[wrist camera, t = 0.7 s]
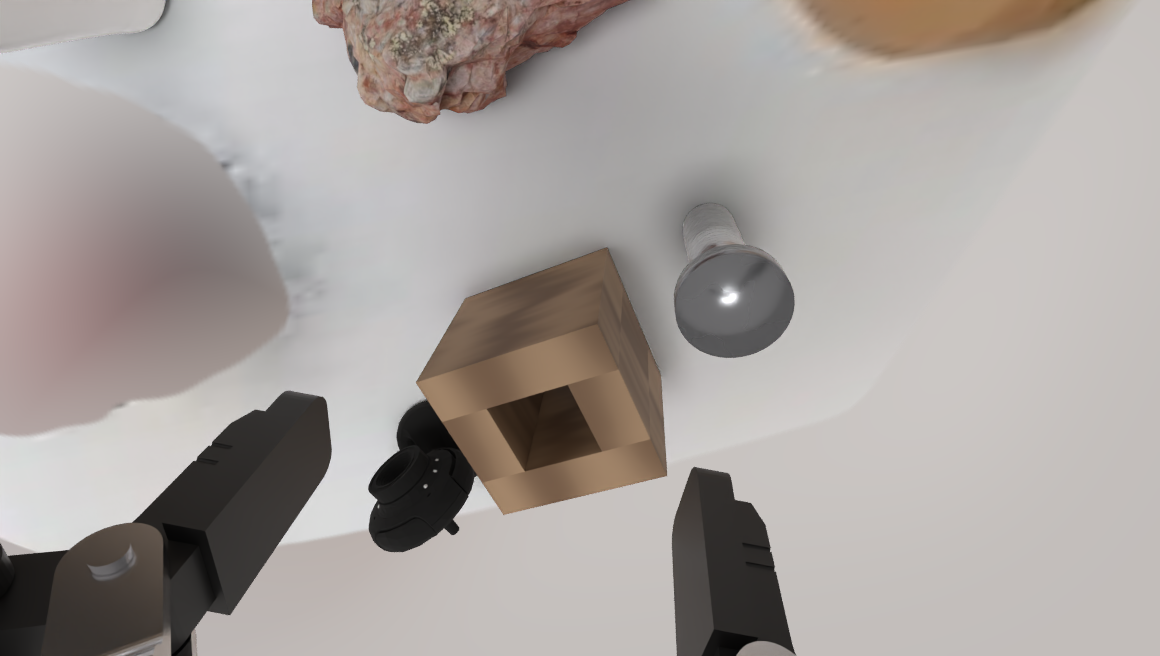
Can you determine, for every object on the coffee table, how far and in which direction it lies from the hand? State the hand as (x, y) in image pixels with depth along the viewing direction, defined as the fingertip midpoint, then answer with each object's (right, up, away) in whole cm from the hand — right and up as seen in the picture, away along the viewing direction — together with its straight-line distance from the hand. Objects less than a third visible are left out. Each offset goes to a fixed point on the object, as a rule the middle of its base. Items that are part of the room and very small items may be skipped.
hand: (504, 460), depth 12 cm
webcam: (-8, -5, +31) cm, 33 cm away
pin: (+9, +9, +21) cm, 24 cm away
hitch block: (+1, +2, +25) cm, 25 cm away
